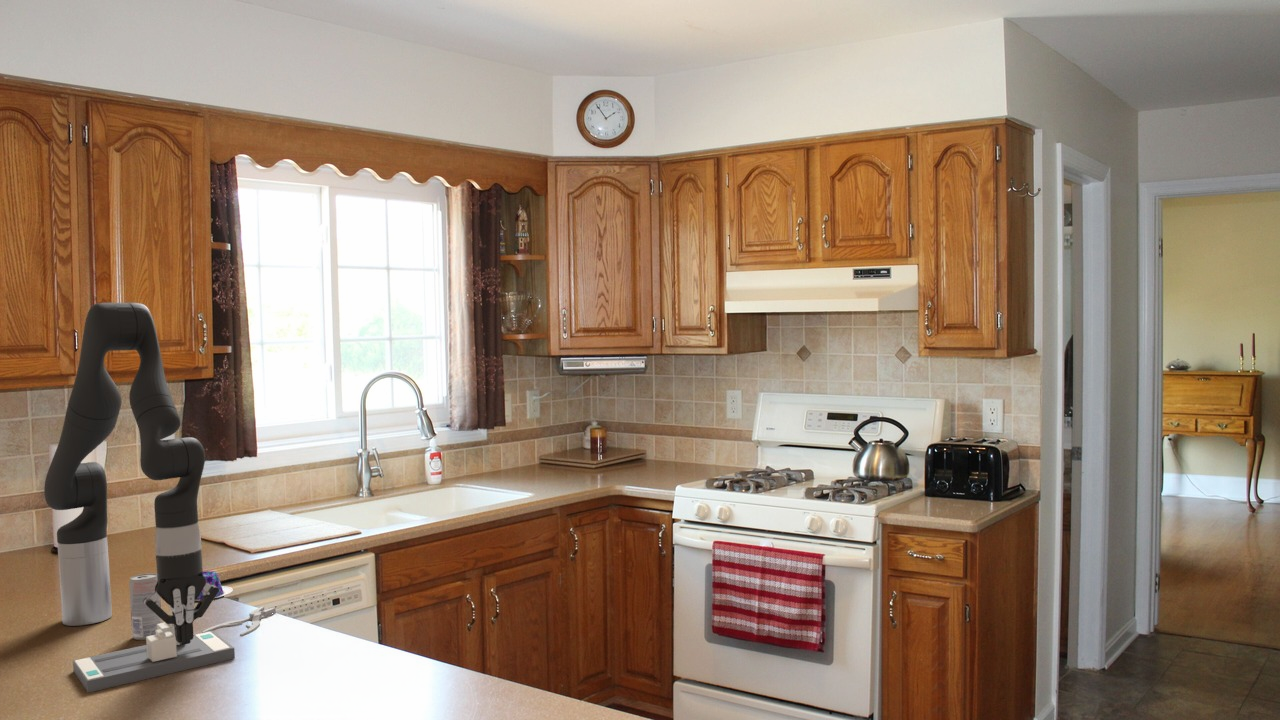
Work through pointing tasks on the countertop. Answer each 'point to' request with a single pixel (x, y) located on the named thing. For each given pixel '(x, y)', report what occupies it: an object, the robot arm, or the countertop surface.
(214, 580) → the pudding
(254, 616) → the pliers
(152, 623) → the energy drink
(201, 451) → the robot arm
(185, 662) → the switch panel
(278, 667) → the countertop surface
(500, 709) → the countertop surface
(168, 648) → the tab
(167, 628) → the tab
